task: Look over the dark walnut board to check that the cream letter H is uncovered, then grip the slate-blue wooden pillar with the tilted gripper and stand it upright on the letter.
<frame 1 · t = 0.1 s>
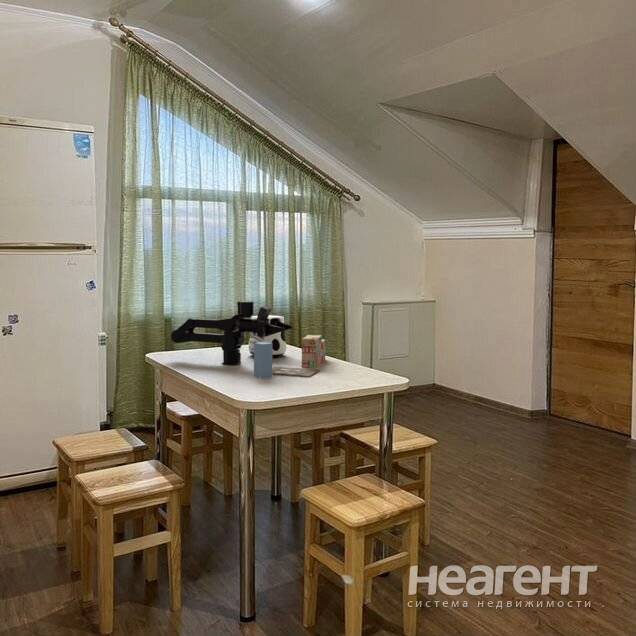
hand: (287, 328, 267), 17 cm above the table, tool horizontal, fingers open, 9 cm apart
blue pillar: (263, 376, 249), on the table
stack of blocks: (313, 364, 281), on the table
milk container: (267, 356, 299), on the table
letter board: (290, 372, 258), on the table
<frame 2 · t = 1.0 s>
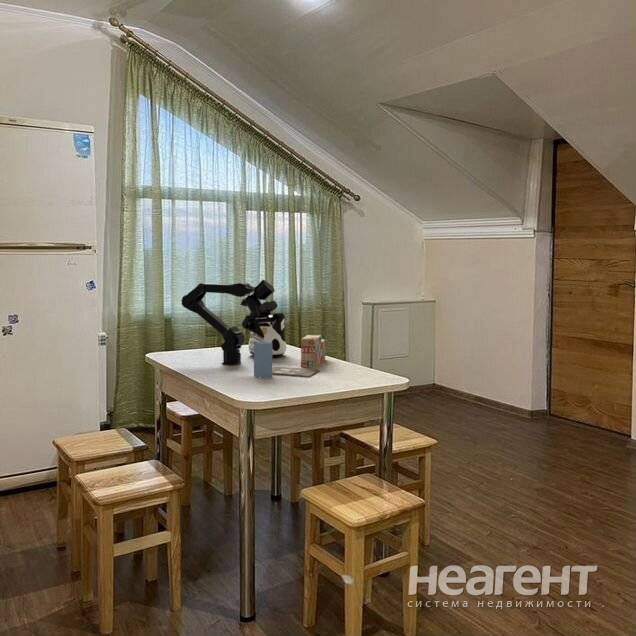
hand: (272, 336, 262), 14 cm above the table, tool tilted 45°, fingers open, 9 cm apart
nothing on the table moved.
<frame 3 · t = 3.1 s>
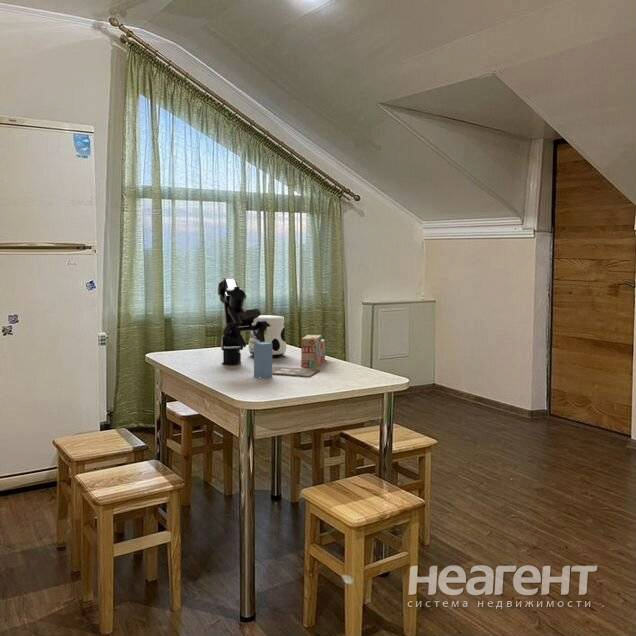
hand: (255, 345, 252), 11 cm above the table, tool tilted 45°, fingers open, 9 cm apart
nothing on the table moved.
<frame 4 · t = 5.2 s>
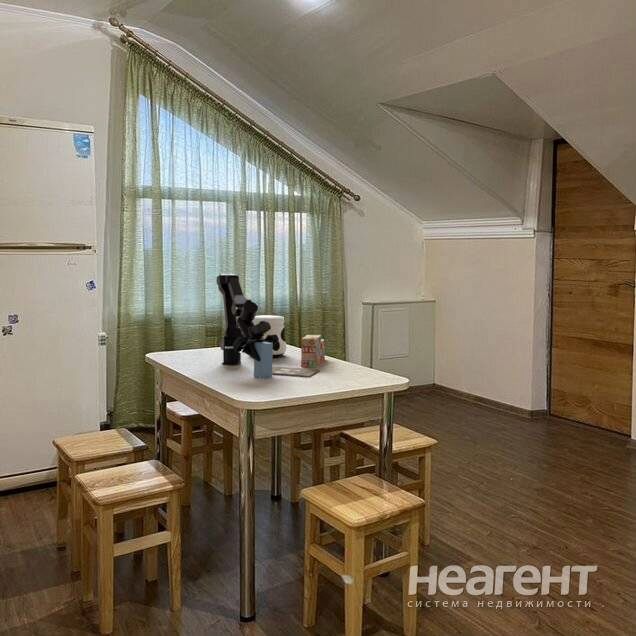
hand: (265, 360, 247), 7 cm above the table, tool tilted 45°, fingers closed on blue pillar, 5 cm apart
blue pillar: (263, 376, 249), on the table, touching gripper
everything else where it was.
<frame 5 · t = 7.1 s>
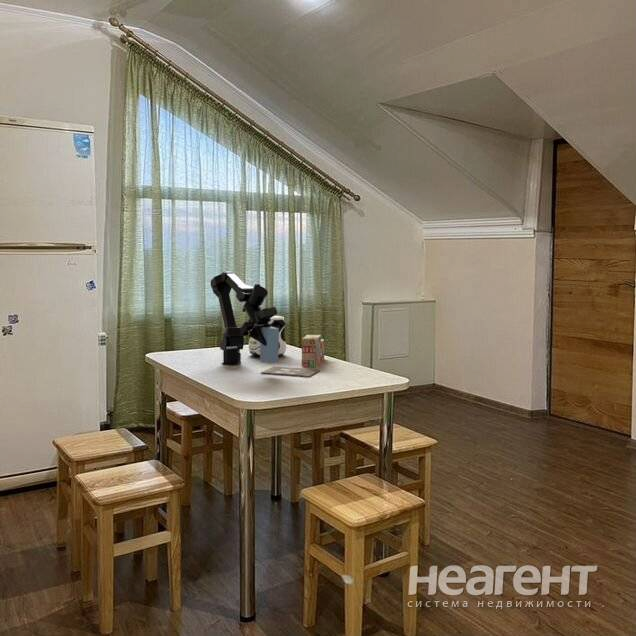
hand: (271, 344, 249), 12 cm above the table, tool tilted 45°, fingers closed on blue pillar, 5 cm apart
blue pillar: (269, 361, 251), point 6 cm above the table, touching gripper
when the fingers open (8 cm above the table, at t = 9.0 s): blue pillar drops 1 cm, resting on letter board.
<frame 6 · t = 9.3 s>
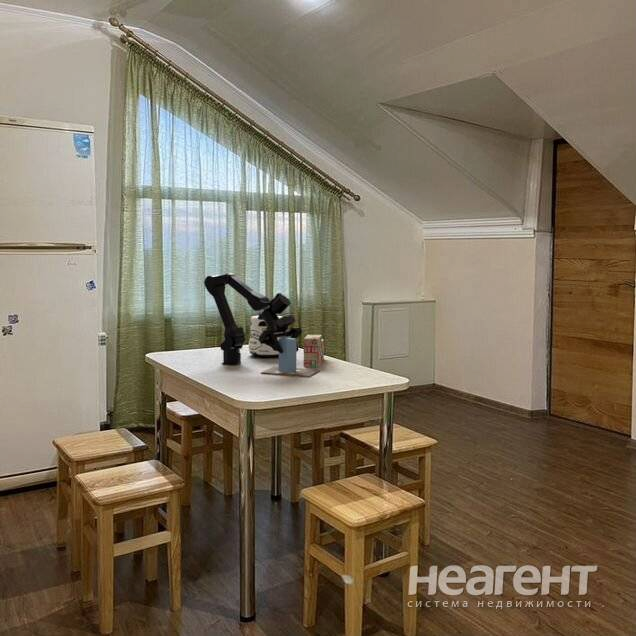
hand: (290, 351, 256), 9 cm above the table, tool tilted 45°, fingers open, 8 cm apart
blue pillar: (287, 371, 258), point 1 cm above the table, touching letter board
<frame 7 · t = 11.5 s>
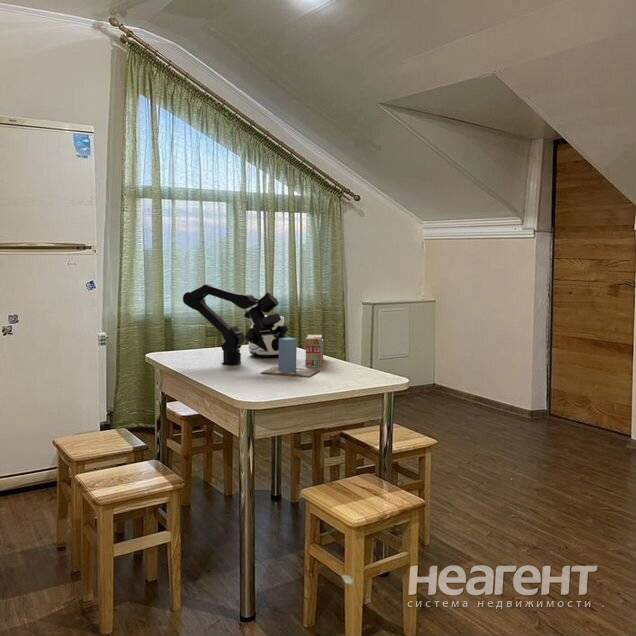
hand: (275, 349, 262), 8 cm above the table, tool tilted 45°, fingers open, 9 cm apart
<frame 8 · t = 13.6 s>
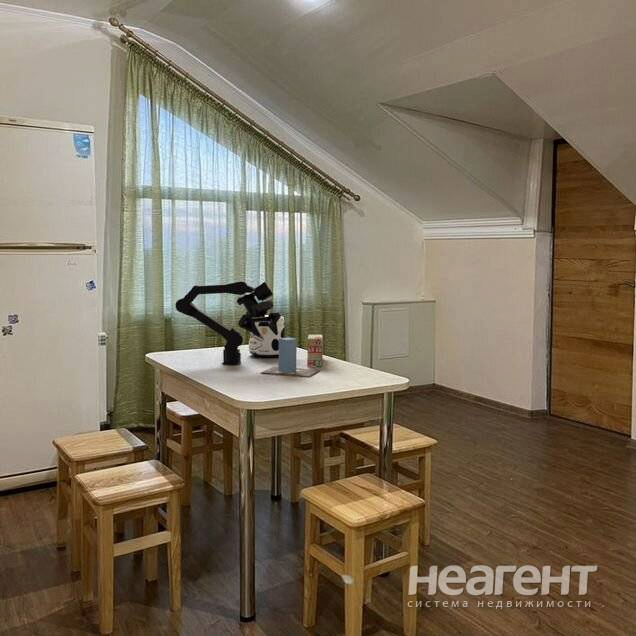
hand: (268, 335, 266), 14 cm above the table, tool tilted 45°, fingers open, 9 cm apart
at the end: blue pillar 0.1 cm from the target spot on the letter board, point 0.6 cm above the letter board's base; blue pillar tilted 0°; the gripper is holding nothing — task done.
